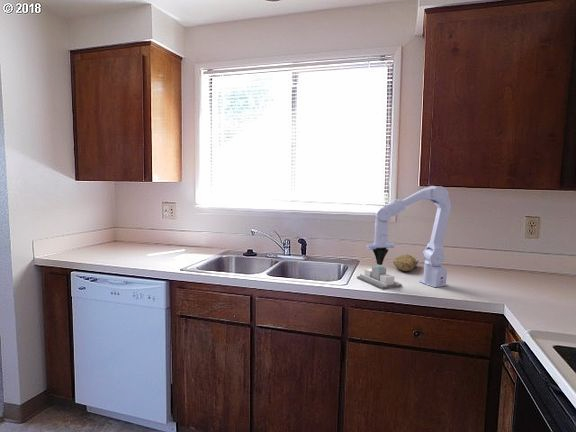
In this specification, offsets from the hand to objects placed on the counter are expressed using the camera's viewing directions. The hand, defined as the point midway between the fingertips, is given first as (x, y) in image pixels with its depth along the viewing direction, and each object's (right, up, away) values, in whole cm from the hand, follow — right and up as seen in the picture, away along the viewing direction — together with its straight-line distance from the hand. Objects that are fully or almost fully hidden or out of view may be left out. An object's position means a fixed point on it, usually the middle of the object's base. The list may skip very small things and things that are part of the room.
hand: (379, 264), depth 166 cm
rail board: (0, -8, +1) cm, 8 cm away
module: (0, -7, +1) cm, 7 cm away
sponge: (+20, -6, +27) cm, 35 cm away
